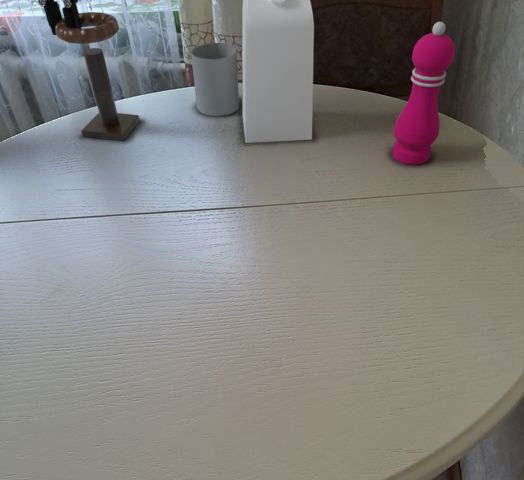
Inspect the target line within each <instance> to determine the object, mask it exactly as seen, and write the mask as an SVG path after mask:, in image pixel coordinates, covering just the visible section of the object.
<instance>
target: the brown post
mask: <svg viewBox="0 0 524 480" xmlns="http://www.w3.org/2000/svg"><path fill="white" fill-rule="evenodd" d="M83 57H84V61H85V65H86V69H87V73H88V76H89V80H90V85H91V88H92V92H93V95H94V99H95V104H96V106H97V111H98V113H97V114H96V115H95V116H94V117H93V118H92V119H90V121H89V122H88V123H87V124H86V125H85V126H84V127H83V128H82V129H81V134H82V137H83V138H91V139H102V140H112V141H121V142H123V141H124V140H126V138H127V137H128V136H129V135H130V133H131V132H132V131H134V129H135V128H136V126H137V125H138V124H139V123H140V122H141V120H140V119H141V118H140V115H139V114H133V113H121V112H118V110H117V106H116V102H115V97H114V94H113V89H112V84H111V80H110V76H109V72H108V67H107V64H106V59H105V55H104V51H103V49H102V48H98V47H92V48H88V49H84V51H83Z"/></svg>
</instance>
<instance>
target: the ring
mask: <svg viewBox="0 0 524 480" xmlns="http://www.w3.org/2000/svg"><path fill="white" fill-rule="evenodd" d="M79 16H80V20H81V29H73V28H68V27H67V26H66V22H65V19H64V17H62V19H61V20H59V21H58V22H57V23H56V24H55V32H56V35H55V36H56V37H57V38H58V39H59V40H61V41H64V42H66V43H68V44H77V45H87V44H95V43H100V42H103V41H106V40H110V39H111V38H113V37H114V36H115V35H117V34H118V32H119V30H120V26H119V22H118V20H117V18H116V16H114V15H111V14H110V13H109V14H108V13H106V12H100V11H97V12H96V11H87V12H79Z"/></svg>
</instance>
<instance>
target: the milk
mask: <svg viewBox="0 0 524 480" xmlns="http://www.w3.org/2000/svg"><path fill="white" fill-rule="evenodd" d="M241 13H242V15H241V16H242V19H241V21H242V23H241V24H242V26H241V27H242V28H241V29H242V32H241V33H242V43H241V44H242V52H241V53H242V54H241V56H242V60H241V61H242V64H241V65H242V67H241V68H242V73H241V75H242V76H241V77H242V79H241V81H242V82H241V85H242V87H241V88H242V92H241V95H242V96H241V97H242V99H241V100H242V103H241V104H242V105H241V107H242V108H241V109H242V110H241V111H242V112H241V113H242V114H241V115H242V123H243V131H244V142H245V144H252V143H272V142H291V141H305V140H306V141H310V140H313V104H314V101H313V99H314V98H313V97H314V47H315V46H314V45H315V44H314V43H315V39H314V38H315V22H314V13H313V8H312V2H311V0H242V11H241Z"/></svg>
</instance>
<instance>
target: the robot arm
mask: <svg viewBox="0 0 524 480" xmlns="http://www.w3.org/2000/svg"><path fill="white" fill-rule="evenodd" d="M79 1H80V0H62V4H63V7H62V8H61V7H60V5H59V3H58V1H57V0H37V3H38V5H39V6H40V7H42V8H43V11H44V14H45V17H46V20H47V24H48V26H49V27H50V31H51V34H52V36H57V35H56V32H55V24H56V23H57V22H58V21H59V20H61V19H62V18H64V19H65V22H66V26H67V27H68V28H73V29H82V28H81V20H80V16H79V13H80V12H79V9H78V6H77V5H78V4H77V3H78V2H79ZM60 8H61V9H60Z"/></svg>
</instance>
